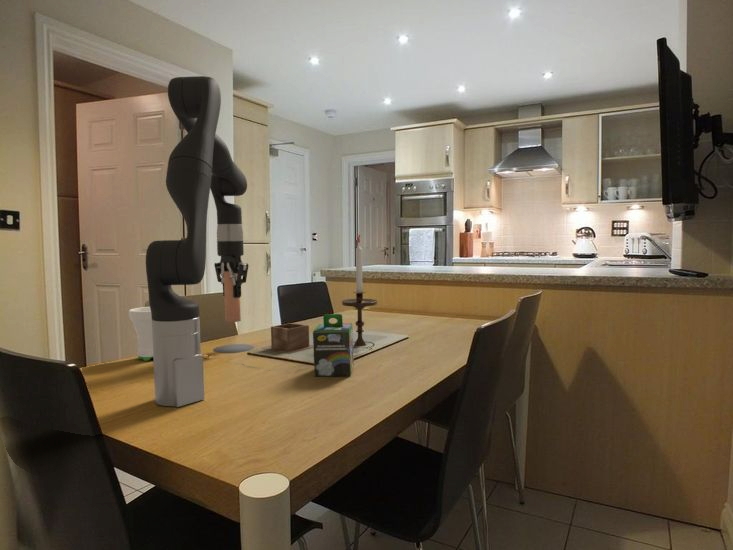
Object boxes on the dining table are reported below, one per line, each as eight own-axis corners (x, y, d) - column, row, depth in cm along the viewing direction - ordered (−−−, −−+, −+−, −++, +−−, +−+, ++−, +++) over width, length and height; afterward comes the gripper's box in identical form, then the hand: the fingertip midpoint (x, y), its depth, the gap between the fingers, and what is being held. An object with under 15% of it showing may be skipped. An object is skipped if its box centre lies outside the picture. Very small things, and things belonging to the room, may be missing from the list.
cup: (160, 351, 144) (158, 305, 143) (181, 356, 137) (179, 307, 136) (123, 359, 135) (120, 309, 134) (144, 365, 128) (141, 312, 127)
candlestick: (378, 351, 141) (376, 232, 138) (341, 351, 141) (339, 233, 139) (377, 343, 152) (376, 233, 149) (343, 343, 152) (341, 233, 149)
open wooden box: (318, 348, 145) (318, 325, 144) (289, 356, 136) (288, 331, 135) (291, 343, 152) (291, 321, 152) (262, 350, 143) (261, 327, 142)
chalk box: (354, 366, 124) (353, 310, 123) (351, 377, 115) (350, 316, 114) (318, 366, 124) (317, 310, 123) (313, 376, 115) (311, 316, 114)
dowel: (243, 320, 143) (242, 271, 142) (231, 322, 140) (229, 271, 139) (234, 319, 146) (233, 270, 145) (222, 321, 142) (220, 271, 141)
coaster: (262, 349, 144) (262, 347, 144) (229, 357, 135) (229, 355, 135) (238, 345, 152) (238, 342, 152) (204, 352, 142) (204, 349, 142)
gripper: (255, 239, 139) (257, 297, 141) (226, 240, 148) (228, 294, 150) (234, 239, 134) (236, 300, 135) (205, 240, 142) (207, 296, 144)
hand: (232, 296), depth 142 cm, fingers closed on dowel, 4 cm apart
